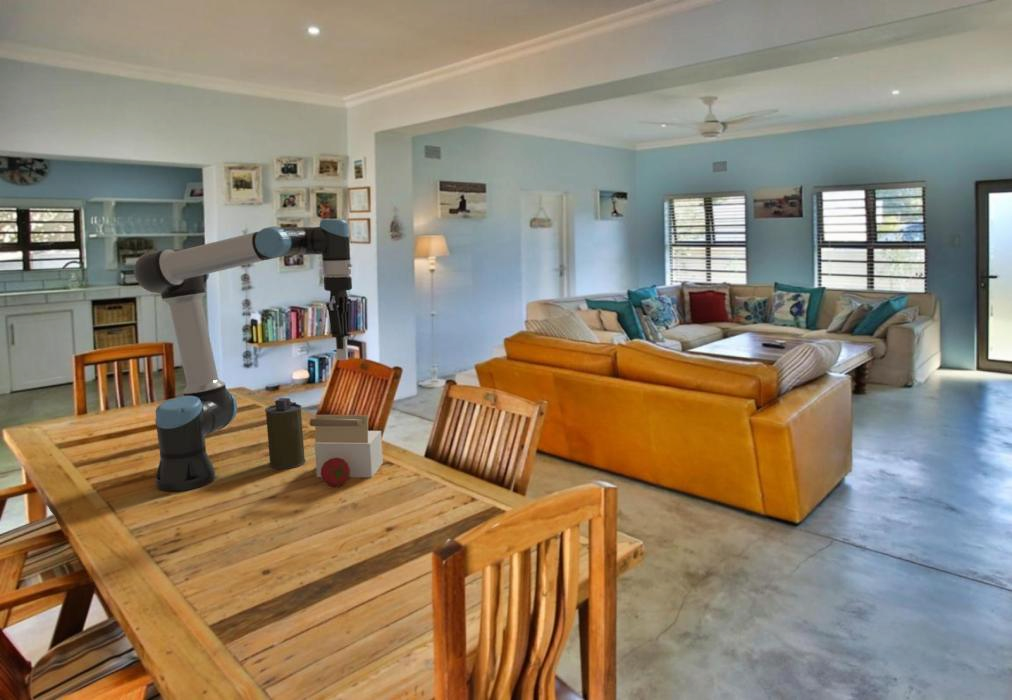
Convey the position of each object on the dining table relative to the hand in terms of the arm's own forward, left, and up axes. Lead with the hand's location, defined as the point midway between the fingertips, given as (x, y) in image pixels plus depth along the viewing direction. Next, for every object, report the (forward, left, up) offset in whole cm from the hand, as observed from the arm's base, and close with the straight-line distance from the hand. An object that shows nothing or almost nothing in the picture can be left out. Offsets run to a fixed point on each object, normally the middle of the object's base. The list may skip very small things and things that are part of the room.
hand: (342, 359), depth 189 cm
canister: (-21, +6, -33) cm, 40 cm away
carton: (0, +1, -33) cm, 33 cm away
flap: (0, -4, -19) cm, 20 cm away
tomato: (0, -11, -33) cm, 35 cm away
